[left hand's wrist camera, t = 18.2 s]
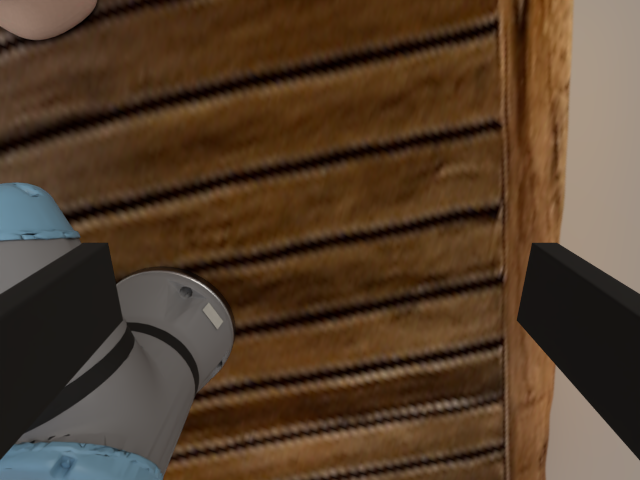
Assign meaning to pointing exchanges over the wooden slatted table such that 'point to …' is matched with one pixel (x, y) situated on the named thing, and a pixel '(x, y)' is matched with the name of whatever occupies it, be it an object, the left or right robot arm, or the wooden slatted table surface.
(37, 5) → the anatomical model
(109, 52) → the wooden slatted table surface
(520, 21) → the wooden slatted table surface
